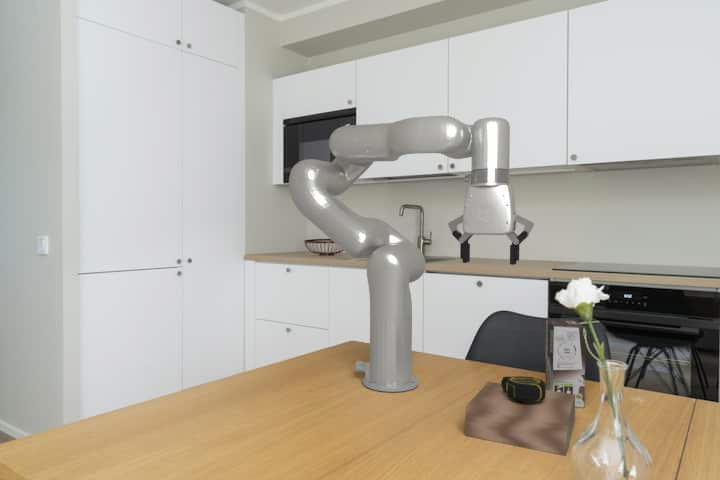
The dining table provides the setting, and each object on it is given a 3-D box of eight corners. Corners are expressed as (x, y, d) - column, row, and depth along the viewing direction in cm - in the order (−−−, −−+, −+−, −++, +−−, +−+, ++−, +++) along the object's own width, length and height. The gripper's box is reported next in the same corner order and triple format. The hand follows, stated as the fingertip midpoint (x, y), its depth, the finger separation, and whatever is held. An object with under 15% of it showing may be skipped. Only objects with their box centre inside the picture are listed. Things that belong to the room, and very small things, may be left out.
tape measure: (538, 394, 93) (538, 374, 93) (551, 407, 86) (551, 385, 86) (500, 393, 93) (501, 373, 93) (510, 406, 86) (511, 384, 86)
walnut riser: (465, 435, 86) (465, 406, 86) (487, 406, 100) (488, 381, 100) (565, 455, 79) (566, 424, 78) (574, 421, 93) (575, 394, 93)
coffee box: (585, 408, 100) (587, 327, 99) (551, 405, 101) (552, 325, 101) (575, 393, 109) (577, 319, 108) (544, 391, 110) (545, 317, 110)
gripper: (443, 180, 104) (442, 262, 104) (531, 176, 96) (529, 266, 96) (454, 183, 110) (453, 260, 111) (537, 179, 102) (535, 263, 103)
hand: (489, 263), depth 104 cm, fingers open, 9 cm apart
